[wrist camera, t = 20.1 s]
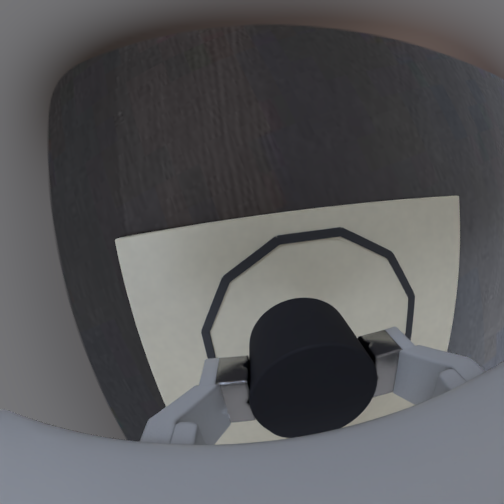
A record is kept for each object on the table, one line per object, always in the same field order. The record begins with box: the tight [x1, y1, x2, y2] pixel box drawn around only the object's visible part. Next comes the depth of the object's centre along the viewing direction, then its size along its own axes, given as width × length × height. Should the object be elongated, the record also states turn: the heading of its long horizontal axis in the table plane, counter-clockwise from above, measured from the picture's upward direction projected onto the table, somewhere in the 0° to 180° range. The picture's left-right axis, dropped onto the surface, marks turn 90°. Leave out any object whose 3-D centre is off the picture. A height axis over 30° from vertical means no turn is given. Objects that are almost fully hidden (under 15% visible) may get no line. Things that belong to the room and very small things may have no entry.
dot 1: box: [249, 298, 378, 438], centre depth 9 cm, size 4×4×4 cm
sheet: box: [115, 195, 460, 445], centre depth 18 cm, size 22×30×1 cm
